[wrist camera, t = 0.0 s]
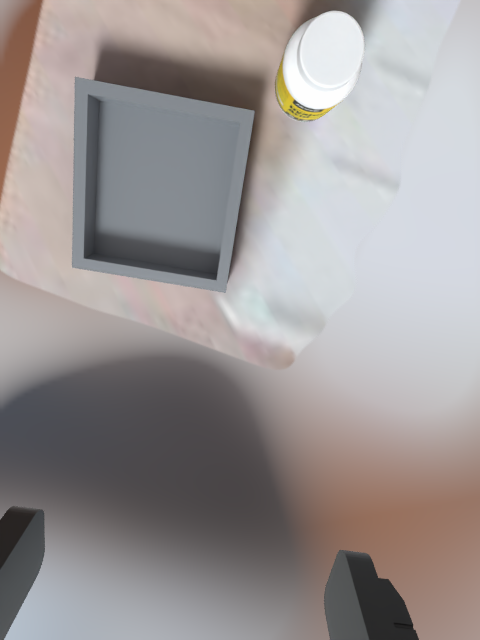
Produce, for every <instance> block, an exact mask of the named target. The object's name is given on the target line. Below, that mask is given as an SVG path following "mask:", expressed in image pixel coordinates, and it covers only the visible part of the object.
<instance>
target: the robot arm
mask: <svg viewBox="0 0 480 640" xmlns="http://www.w3.org/2000/svg"><path fill="white" fill-rule="evenodd" d="M44 551H45V538H44V511H43V510H40V509H33V508H26V507H18V506H13V507H11V508H9V509H8V510H7V512H6V513H5V514H4V516H3V517H2V518H1V520H0V640H4V638H5V636H6V634H7V632H8V631H9V629H10V627H11V625H12V623H13V621H14V619H15V617H16V615H17V613H18V611H19V609H20V607H21V606H22V604H23V602H24V600H25V598H26V596H27V594H28V592H29V591H30V589H31V587H32V585H33V583H34V581H35V579H36V577H37V575H38V573H39V570H40V568H41V565H42V561H43V557H44ZM324 602H325V603H324V605H325V614H326V620H327V625H328V631H329V636H330V640H419V639H418V636H417V633H416V631H415V630H414V629H413V623H412V620H411V618H410V615H409V613H408V610H407V608H406V605H405V602H404V600H403V599H402V597H401V596H400V595H399V593H398V592H397V591H396V589H395V588H394V587H393V585H392V584H391V582H390V581H389V580H388V579H381V578H378V576H377V573H376V570H375V568H374V564H373V562H372V559H371V557H370V556H369V555H368V554H366V553H359V552H353V551H344V550H340V551H339V552H338V554H337V556H336V559H335V562H334V565H333V568H332V570H331V573H330V576H329V579H328V582H327V585H326V588H325V596H324Z"/></svg>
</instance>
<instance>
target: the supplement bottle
mask: <svg viewBox="0 0 480 640" xmlns="http://www.w3.org/2000/svg"><path fill="white" fill-rule="evenodd" d="M364 51H365V41H364V35H363V32H362V29H361V27H360V26H359V24H358V22H357V21H356V20H355V19H354V18H353V17H352V16H350V15H349V14H347V13H345V12H342V11H328V12H325V13H323V14H321V15H319V16H317V17H315V18H312V19H310V20H308V21H306V22H305V23H303V24H302V25H301V26H300V27H299V28H298V29H297V30H296V31H295V32H294V34H293V35H292V37H291V38H290V40H289V42H288V44H287V47H286V49H285V52H284V55H283V58H282V61H281V64H280V66H279V69H278V72H277V76H276V80H275V94H276V99H277V102H278V104H279V106H280V108H281V109H282V111H283V112H284V113H285V114H286V115H287V116H288V117H290V118H291V119H294V120H296V121H300V122H309V121H313V120H316V119H318V118H320V117H322V116H323V115H325V114H326V113H327V112H329V111H330V110H331V109H332V108H334V107H335V106H336V105H337V104H339V103H340V102H341V101H343V100H344V99H345V98H346V97H347V96H348V95H349V93H350V92H351V91H352V90H353V88H354V86H355V85H356V83H357V81H358V78H359V75H360V72H361V67H362V60H363V56H364Z"/></svg>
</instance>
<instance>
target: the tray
mask: <svg viewBox="0 0 480 640" xmlns="http://www.w3.org/2000/svg"><path fill="white" fill-rule="evenodd" d="M254 113H255V111H253V110H248V109H243V108H237V107H232V106H227V105H221V104H216V103H211V102H206V101H200V100H195V99H190V98H184V97H179V96H174V95H169V94H163V93H158V92H153V91H147V90H142V89H137V88H132V87H126V86H121V85H116V84H110V83H105V82H100V81H95V80H89V79H84V78H79V77H75V111H74V177H73V243H72V268H78V269H84V270H90V271H96V272H102V273H109V274H115V275H121V276H127V277H133V278H139V279H145V280H151V281H157V282H163V283H169V284H176V285H182V286H188V287H194V288H200V289H206V290H212V291H218V292H224V293H226V287H227V281H228V275H229V269H230V262H231V256H232V250H233V244H234V237H235V231H236V225H237V219H238V213H239V206H240V200H241V194H242V188H243V181H244V175H245V169H246V163H247V157H248V150H249V144H250V138H251V132H252V125H253V119H254Z"/></svg>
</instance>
